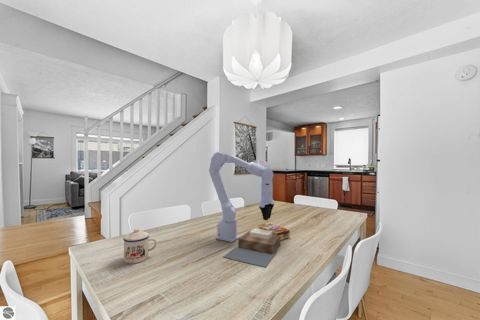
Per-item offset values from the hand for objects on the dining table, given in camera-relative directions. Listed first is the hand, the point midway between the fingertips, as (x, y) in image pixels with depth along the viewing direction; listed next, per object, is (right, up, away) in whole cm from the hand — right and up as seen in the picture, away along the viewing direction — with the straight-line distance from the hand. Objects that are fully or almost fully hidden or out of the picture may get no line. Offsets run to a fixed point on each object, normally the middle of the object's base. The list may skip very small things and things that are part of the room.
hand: (266, 219), depth 103 cm
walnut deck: (-4, -10, -9) cm, 14 cm away
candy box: (+9, -8, -1) cm, 12 cm away
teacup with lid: (-53, -9, -22) cm, 58 cm away
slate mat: (-10, -9, -20) cm, 24 cm away
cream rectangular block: (-4, -6, -7) cm, 10 cm away
